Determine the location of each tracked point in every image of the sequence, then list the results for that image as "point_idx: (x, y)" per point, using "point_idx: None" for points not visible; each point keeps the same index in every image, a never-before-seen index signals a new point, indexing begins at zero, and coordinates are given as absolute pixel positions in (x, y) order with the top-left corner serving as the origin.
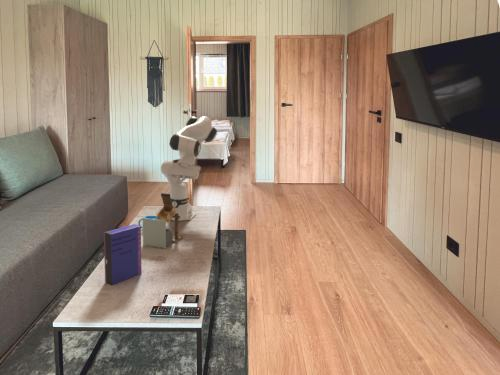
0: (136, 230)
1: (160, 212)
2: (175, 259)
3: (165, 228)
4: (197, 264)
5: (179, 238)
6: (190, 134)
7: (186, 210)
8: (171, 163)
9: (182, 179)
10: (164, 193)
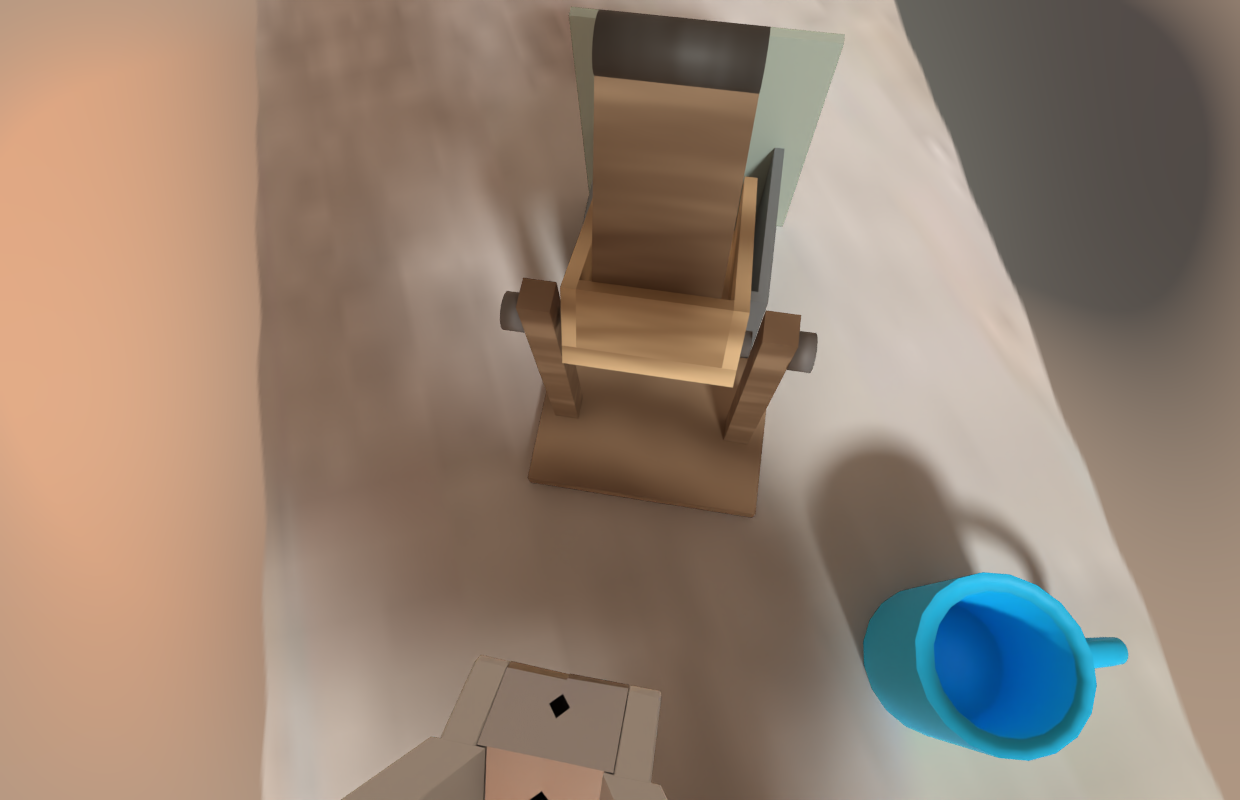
0: None
1: (738, 239)
2: (466, 48)
3: (577, 74)
4: (316, 12)
5: (542, 411)
6: None
7: None
8: None
9: (401, 760)
10: (707, 28)
